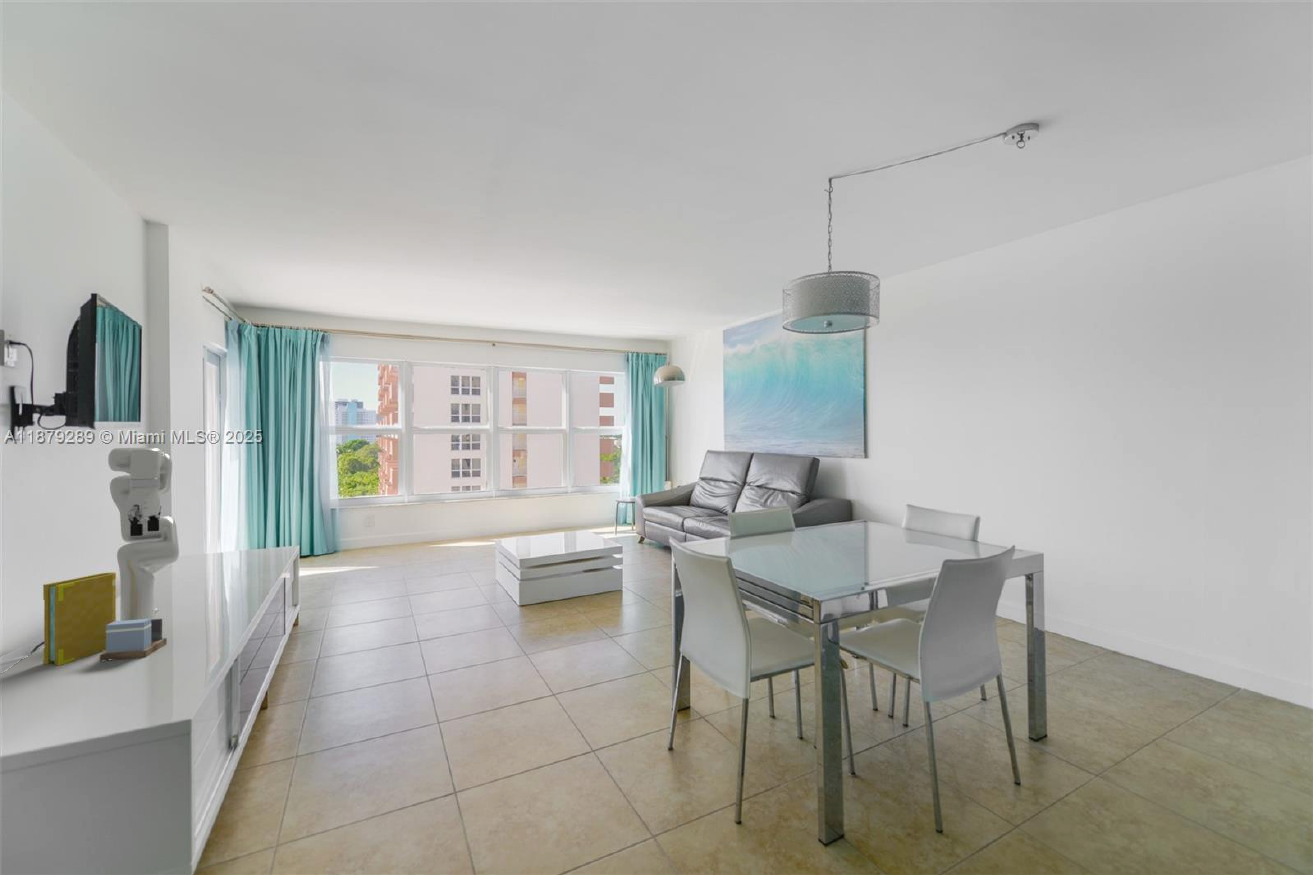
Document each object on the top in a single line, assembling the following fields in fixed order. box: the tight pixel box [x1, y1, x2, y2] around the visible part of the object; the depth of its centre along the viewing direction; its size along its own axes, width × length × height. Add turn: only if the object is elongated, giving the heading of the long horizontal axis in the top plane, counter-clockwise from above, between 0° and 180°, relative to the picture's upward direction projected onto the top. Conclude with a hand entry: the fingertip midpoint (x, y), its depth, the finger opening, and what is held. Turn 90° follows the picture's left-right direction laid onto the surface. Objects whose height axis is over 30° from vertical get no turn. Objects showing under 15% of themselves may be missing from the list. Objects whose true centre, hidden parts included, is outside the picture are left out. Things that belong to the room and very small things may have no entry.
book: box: [42, 572, 117, 666], centre depth 183 cm, size 17×7×25 cm, turn 168°
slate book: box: [105, 619, 151, 653], centre depth 182 cm, size 4×10×9 cm, turn 106°
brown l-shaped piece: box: [99, 618, 167, 662], centre depth 184 cm, size 12×12×9 cm
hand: (145, 533), depth 192 cm, fingers open, 9 cm apart
